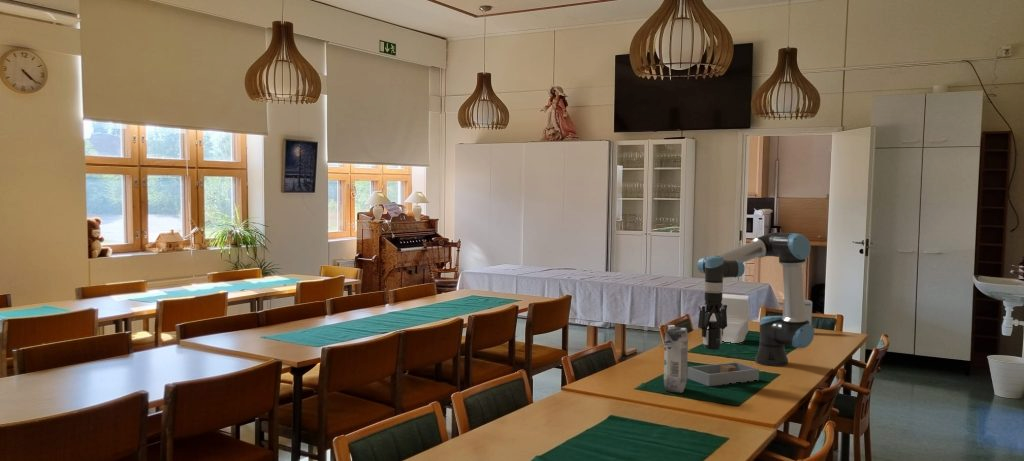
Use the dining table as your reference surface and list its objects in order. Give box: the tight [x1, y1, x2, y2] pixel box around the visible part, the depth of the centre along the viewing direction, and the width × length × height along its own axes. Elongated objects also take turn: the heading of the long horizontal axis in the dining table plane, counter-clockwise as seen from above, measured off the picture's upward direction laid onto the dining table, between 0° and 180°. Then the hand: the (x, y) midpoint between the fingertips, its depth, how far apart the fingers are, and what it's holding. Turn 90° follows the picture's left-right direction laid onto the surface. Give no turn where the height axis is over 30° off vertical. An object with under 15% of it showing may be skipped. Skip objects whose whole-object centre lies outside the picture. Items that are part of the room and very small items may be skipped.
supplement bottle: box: [703, 321, 721, 351], centre depth 317 cm, size 7×7×12 cm
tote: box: [687, 361, 760, 387], centre depth 320 cm, size 28×15×5 cm, turn 114°
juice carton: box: [663, 324, 689, 394], centre depth 301 cm, size 9×10×27 cm
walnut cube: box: [720, 365, 737, 373], centre depth 322 cm, size 5×5×5 cm
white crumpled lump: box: [708, 293, 751, 343], centre depth 411 cm, size 21×27×26 cm
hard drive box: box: [782, 298, 813, 326], centre depth 437 cm, size 16×8×20 cm, turn 81°
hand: (712, 343), depth 317 cm, fingers closed on supplement bottle, 7 cm apart
